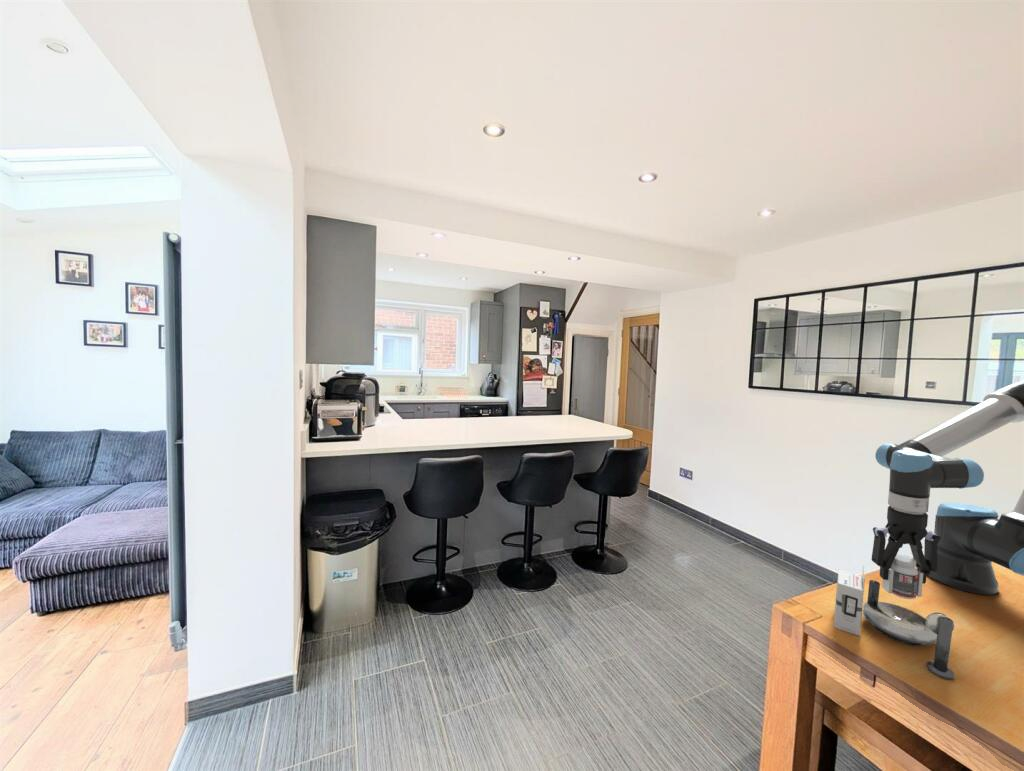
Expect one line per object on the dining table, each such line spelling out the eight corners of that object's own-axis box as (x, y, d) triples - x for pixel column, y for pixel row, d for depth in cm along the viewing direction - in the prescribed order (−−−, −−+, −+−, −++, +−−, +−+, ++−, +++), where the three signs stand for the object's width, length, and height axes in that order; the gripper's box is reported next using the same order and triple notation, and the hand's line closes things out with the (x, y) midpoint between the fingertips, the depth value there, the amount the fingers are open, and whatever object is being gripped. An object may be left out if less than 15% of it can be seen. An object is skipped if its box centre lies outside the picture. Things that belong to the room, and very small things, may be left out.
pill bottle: (920, 602, 101) (923, 566, 100) (891, 596, 104) (894, 561, 103) (910, 590, 106) (913, 555, 105) (883, 584, 109) (885, 550, 108)
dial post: (960, 681, 81) (967, 626, 80) (935, 677, 82) (941, 623, 81) (944, 666, 85) (950, 614, 84) (920, 662, 86) (926, 610, 85)
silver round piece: (849, 605, 102) (851, 578, 101) (900, 607, 101) (903, 580, 101) (895, 642, 89) (899, 611, 88) (955, 645, 88) (959, 614, 88)
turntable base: (897, 619, 100) (897, 612, 100) (935, 645, 91) (936, 638, 91) (862, 619, 100) (863, 612, 100) (897, 645, 91) (898, 638, 91)
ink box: (834, 610, 103) (839, 557, 102) (859, 618, 100) (864, 564, 98) (833, 627, 96) (838, 571, 95) (860, 637, 93) (866, 579, 92)
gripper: (874, 511, 102) (868, 595, 104) (964, 518, 97) (956, 605, 99) (856, 501, 109) (852, 579, 111) (939, 506, 104) (932, 588, 106)
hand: (901, 591), depth 105 cm, fingers closed on pill bottle, 6 cm apart
